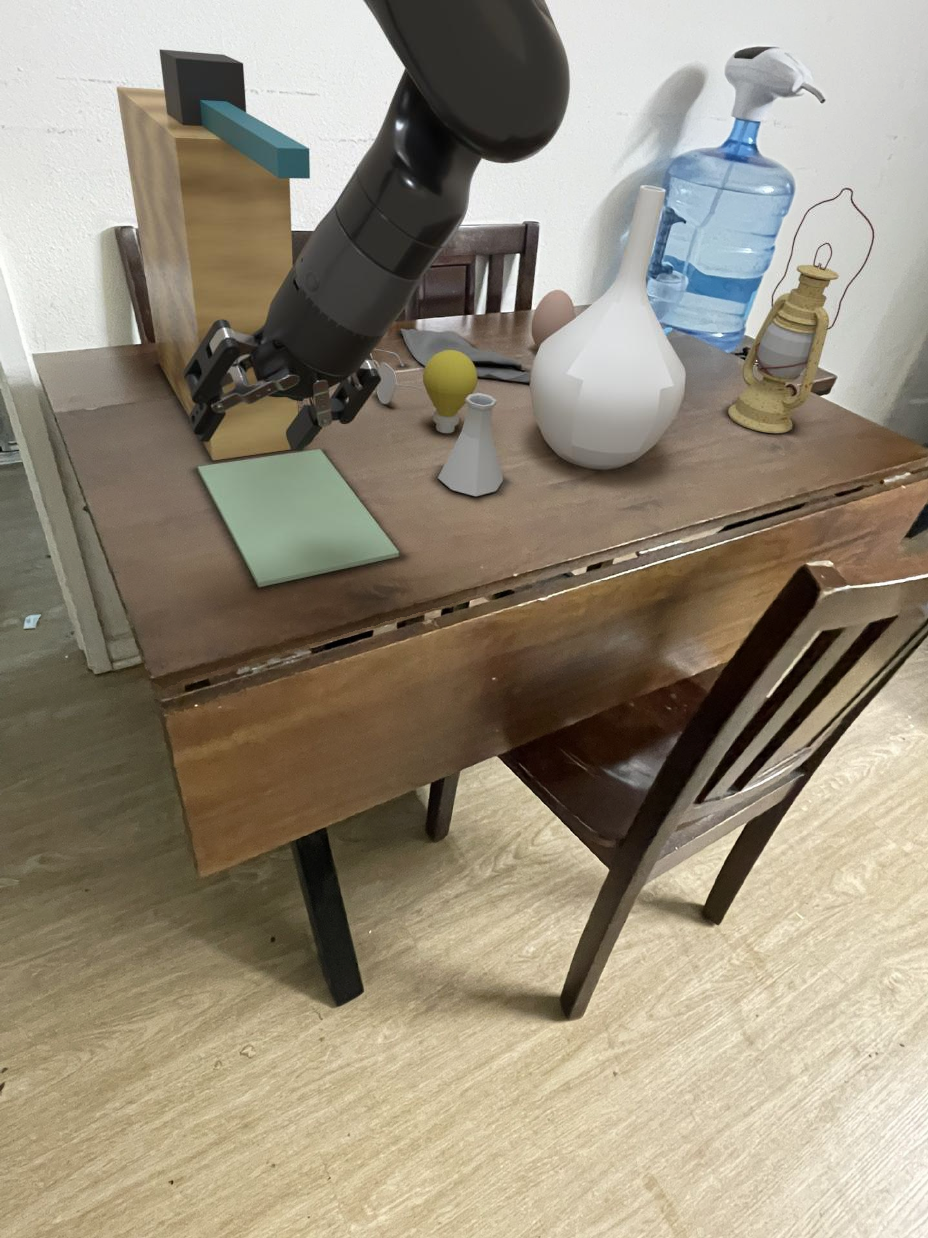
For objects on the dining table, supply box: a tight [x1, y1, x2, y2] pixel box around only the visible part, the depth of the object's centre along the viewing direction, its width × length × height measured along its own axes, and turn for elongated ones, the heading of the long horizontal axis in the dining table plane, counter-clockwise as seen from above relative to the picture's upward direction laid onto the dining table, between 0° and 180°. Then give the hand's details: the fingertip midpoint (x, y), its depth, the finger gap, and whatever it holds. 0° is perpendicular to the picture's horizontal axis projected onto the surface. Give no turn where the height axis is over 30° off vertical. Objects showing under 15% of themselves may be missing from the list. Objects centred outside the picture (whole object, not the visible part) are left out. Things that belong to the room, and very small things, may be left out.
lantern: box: [727, 187, 875, 434], centre depth 100 cm, size 12×10×30 cm
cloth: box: [399, 327, 531, 384], centre depth 114 cm, size 26×14×2 cm, turn 42°
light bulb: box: [422, 350, 478, 434], centre depth 93 cm, size 7×7×10 cm
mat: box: [197, 448, 400, 588], centre depth 78 cm, size 22×14×1 cm, turn 28°
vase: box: [529, 185, 687, 471], centre depth 87 cm, size 18×18×30 cm
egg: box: [530, 289, 577, 349], centre depth 118 cm, size 7×7×10 cm
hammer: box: [159, 48, 311, 180], centre depth 64 cm, size 28×6×5 cm, turn 30°
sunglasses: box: [370, 348, 426, 405], centre depth 104 cm, size 14×8×5 cm, turn 30°
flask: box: [437, 392, 504, 497], centre depth 84 cm, size 7×7×10 cm
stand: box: [116, 86, 299, 461], centre depth 85 cm, size 28×10×31 cm, turn 28°
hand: (247, 438), depth 62 cm, fingers open, 8 cm apart
